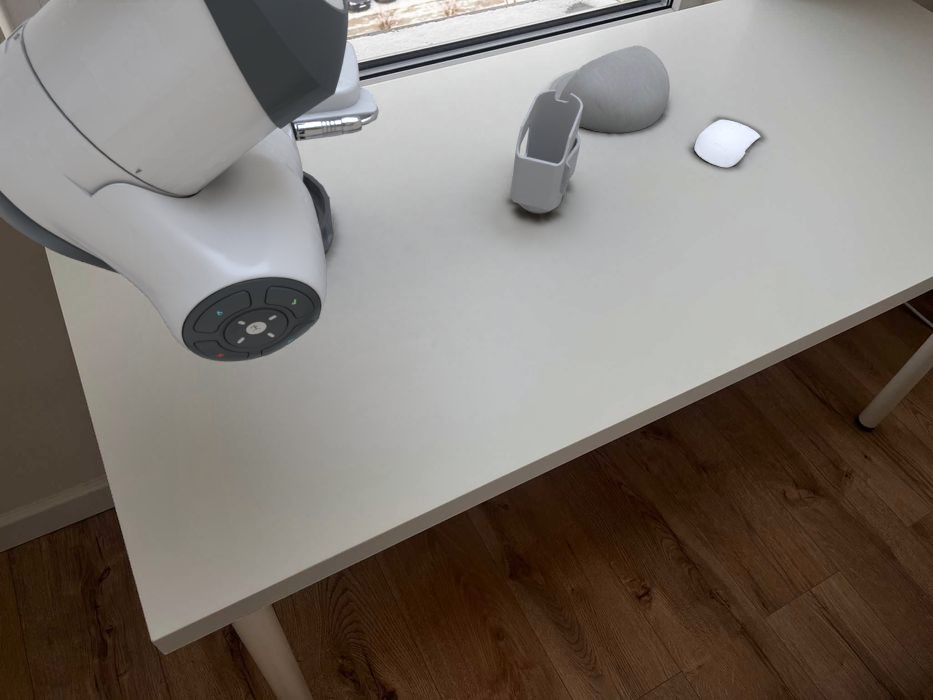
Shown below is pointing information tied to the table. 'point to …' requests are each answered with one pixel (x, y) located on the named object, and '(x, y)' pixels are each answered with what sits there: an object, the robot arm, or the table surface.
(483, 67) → the table surface
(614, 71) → the gray cap
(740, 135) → the white curved shell
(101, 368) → the table surface
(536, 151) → the cable organizer
